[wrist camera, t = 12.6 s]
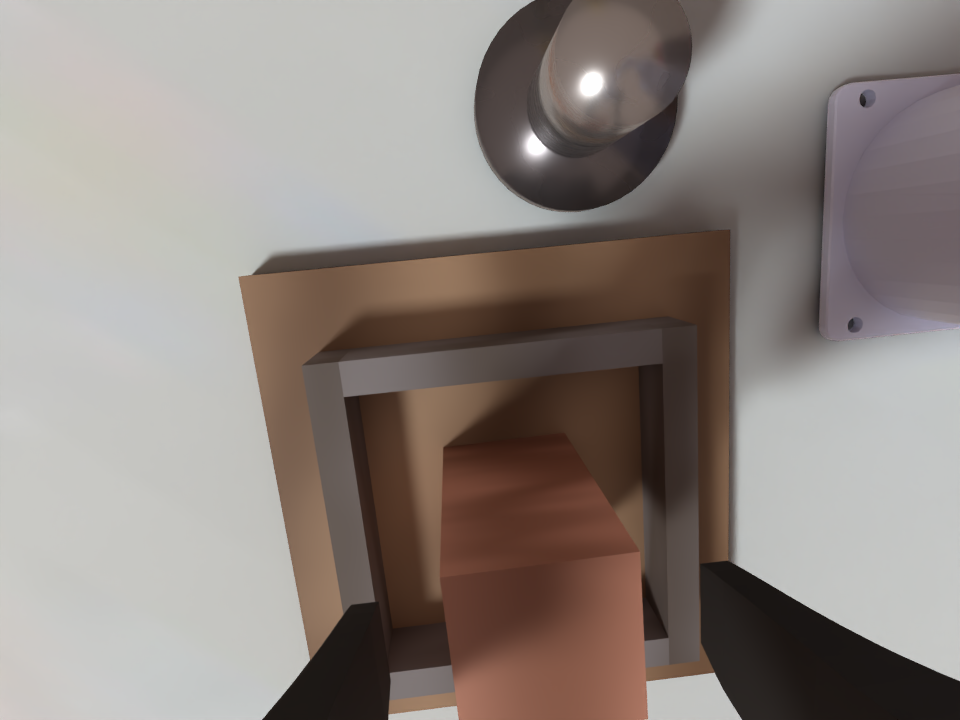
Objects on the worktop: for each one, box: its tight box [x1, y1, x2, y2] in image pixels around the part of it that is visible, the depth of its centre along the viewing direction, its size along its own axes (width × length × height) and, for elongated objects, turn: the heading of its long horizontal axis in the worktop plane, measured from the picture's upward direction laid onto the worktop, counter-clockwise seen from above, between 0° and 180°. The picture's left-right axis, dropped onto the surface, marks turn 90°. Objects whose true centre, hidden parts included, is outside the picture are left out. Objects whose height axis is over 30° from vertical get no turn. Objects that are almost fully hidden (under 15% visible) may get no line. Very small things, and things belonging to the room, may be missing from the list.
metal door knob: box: [474, 0, 692, 212], centre depth 14 cm, size 6×6×5 cm
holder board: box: [239, 230, 730, 714], centre depth 17 cm, size 15×16×3 cm
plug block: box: [440, 433, 648, 720], centre depth 14 cm, size 4×4×7 cm
